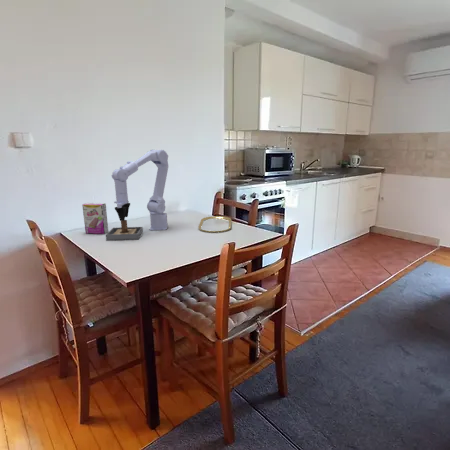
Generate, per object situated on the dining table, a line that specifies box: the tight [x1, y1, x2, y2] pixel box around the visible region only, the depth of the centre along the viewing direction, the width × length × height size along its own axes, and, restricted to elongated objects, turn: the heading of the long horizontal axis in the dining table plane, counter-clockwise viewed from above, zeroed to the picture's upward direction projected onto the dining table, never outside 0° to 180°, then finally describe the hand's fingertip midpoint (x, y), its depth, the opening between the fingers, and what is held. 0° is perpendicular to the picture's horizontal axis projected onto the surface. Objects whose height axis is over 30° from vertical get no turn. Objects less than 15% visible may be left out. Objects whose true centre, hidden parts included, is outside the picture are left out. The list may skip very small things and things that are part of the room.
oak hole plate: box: [114, 229, 137, 234], centre depth 172 cm, size 10×10×2 cm
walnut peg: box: [120, 219, 128, 233], centre depth 171 cm, size 3×3×8 cm
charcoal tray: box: [105, 226, 144, 242], centre depth 172 cm, size 16×14×3 cm
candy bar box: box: [81, 202, 109, 235], centre depth 177 cm, size 11×5×16 cm, turn 84°
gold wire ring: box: [197, 215, 232, 234], centre depth 194 cm, size 19×35×2 cm, turn 179°
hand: (123, 218), depth 170 cm, fingers open, 7 cm apart
